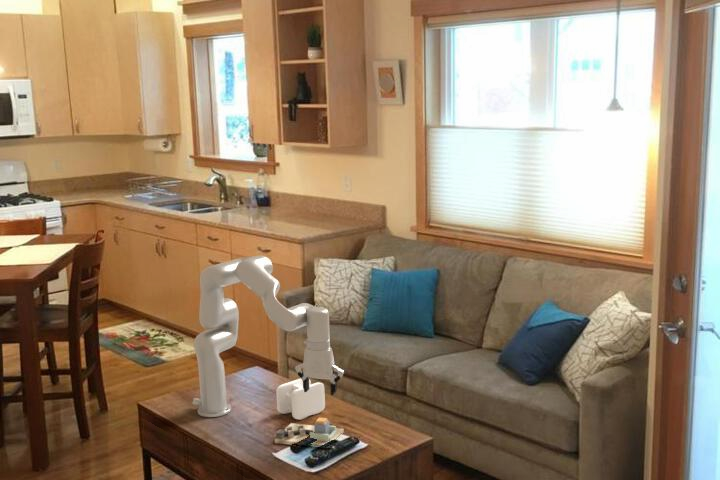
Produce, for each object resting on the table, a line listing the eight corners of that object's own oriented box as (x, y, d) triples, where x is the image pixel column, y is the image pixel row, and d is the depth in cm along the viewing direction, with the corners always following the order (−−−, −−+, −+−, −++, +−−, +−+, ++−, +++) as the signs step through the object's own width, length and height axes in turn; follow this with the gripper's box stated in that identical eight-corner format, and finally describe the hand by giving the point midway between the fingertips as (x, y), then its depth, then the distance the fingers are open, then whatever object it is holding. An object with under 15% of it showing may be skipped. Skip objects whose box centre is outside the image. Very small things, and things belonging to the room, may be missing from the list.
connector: (314, 437, 269) (314, 421, 267) (319, 432, 272) (318, 416, 271) (325, 438, 267) (325, 422, 266) (329, 434, 271) (329, 417, 270)
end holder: (309, 439, 268) (309, 433, 267) (317, 430, 275) (317, 424, 274) (329, 441, 265) (329, 435, 265) (337, 432, 272) (337, 426, 272)
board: (275, 442, 268) (274, 433, 268) (291, 426, 281) (290, 416, 281) (329, 449, 262) (329, 439, 262) (343, 431, 275) (343, 422, 275)
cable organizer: (293, 423, 284) (291, 392, 282) (276, 415, 292) (274, 385, 290) (325, 411, 294) (324, 382, 292) (308, 403, 302) (307, 375, 300)
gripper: (290, 345, 263) (292, 393, 267) (339, 350, 258) (340, 399, 261) (299, 338, 270) (300, 385, 274) (346, 343, 265) (347, 390, 268)
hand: (319, 392), depth 267 cm, fingers open, 9 cm apart
